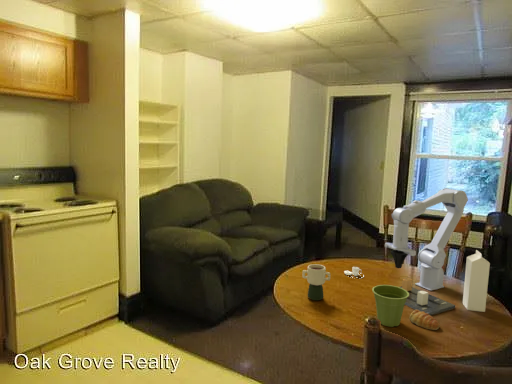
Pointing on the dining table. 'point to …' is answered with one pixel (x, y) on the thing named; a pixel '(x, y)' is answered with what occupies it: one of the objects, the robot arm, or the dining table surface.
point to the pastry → (424, 320)
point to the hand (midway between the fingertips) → (398, 267)
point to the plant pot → (389, 303)
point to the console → (433, 304)
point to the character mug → (316, 280)
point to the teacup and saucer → (355, 272)
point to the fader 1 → (407, 284)
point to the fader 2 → (422, 297)
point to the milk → (476, 282)
